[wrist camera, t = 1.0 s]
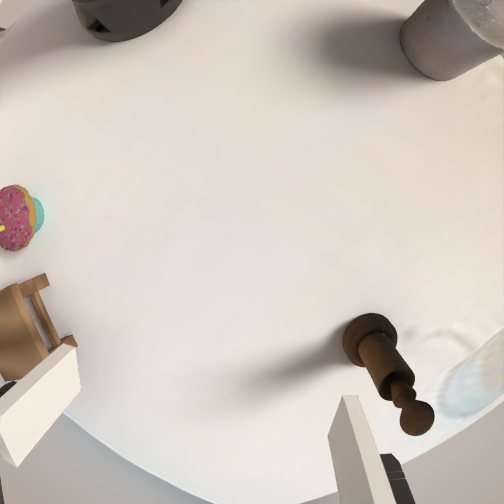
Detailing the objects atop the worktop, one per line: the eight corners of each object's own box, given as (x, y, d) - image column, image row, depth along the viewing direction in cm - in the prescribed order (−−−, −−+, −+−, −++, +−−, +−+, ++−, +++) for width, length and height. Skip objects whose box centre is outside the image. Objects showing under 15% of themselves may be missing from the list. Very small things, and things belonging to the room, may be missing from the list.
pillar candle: (406, 7, 29) (452, -51, 14) (465, 42, 29) (526, 3, 14) (391, 59, 31) (446, 4, 16) (456, 95, 31) (527, 65, 16)
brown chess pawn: (361, 368, 38) (406, 465, 21) (331, 338, 38) (369, 436, 20) (400, 334, 37) (467, 418, 19) (373, 301, 36) (439, 381, 19)
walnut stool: (2, 292, 40) (-31, 307, 32) (45, 270, 38) (9, 285, 30) (33, 359, 41) (5, 381, 34) (80, 347, 40) (50, 373, 32)
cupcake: (63, 219, 37) (1, 232, 25) (31, 256, 38) (-27, 277, 26) (35, 171, 36) (-27, 171, 24) (6, 210, 37) (-52, 220, 25)
